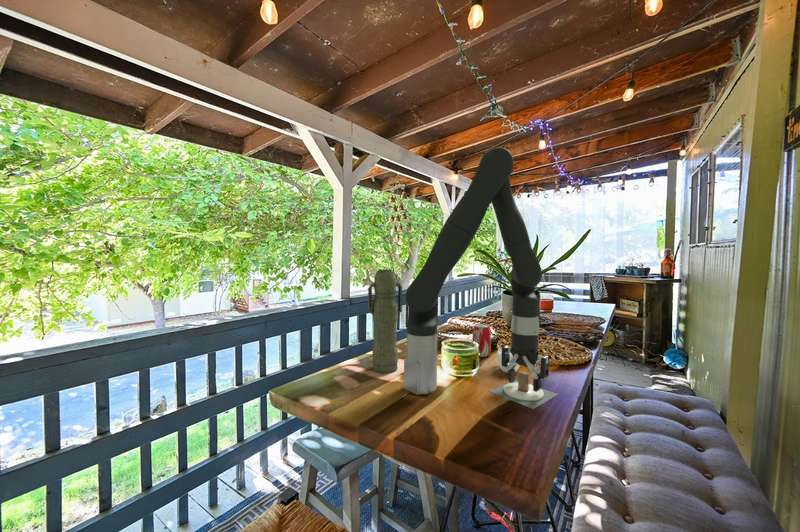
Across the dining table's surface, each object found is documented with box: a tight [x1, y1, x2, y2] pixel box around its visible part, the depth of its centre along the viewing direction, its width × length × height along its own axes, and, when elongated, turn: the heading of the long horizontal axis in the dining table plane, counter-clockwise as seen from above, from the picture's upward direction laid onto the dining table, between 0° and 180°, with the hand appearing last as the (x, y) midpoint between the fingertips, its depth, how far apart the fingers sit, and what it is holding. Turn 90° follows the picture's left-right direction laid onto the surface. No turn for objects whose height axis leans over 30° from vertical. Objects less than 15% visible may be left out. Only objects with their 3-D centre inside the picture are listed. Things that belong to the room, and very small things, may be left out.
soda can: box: [472, 323, 492, 358], centre depth 134 cm, size 7×7×12 cm
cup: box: [495, 349, 521, 373], centre depth 117 cm, size 8×10×7 cm
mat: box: [488, 379, 559, 410], centre depth 98 cm, size 14×14×1 cm
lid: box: [504, 370, 544, 401], centre depth 98 cm, size 11×11×6 cm
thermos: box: [367, 269, 403, 374], centre depth 118 cm, size 9×12×35 cm
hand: (523, 386), depth 98 cm, fingers open, 7 cm apart
